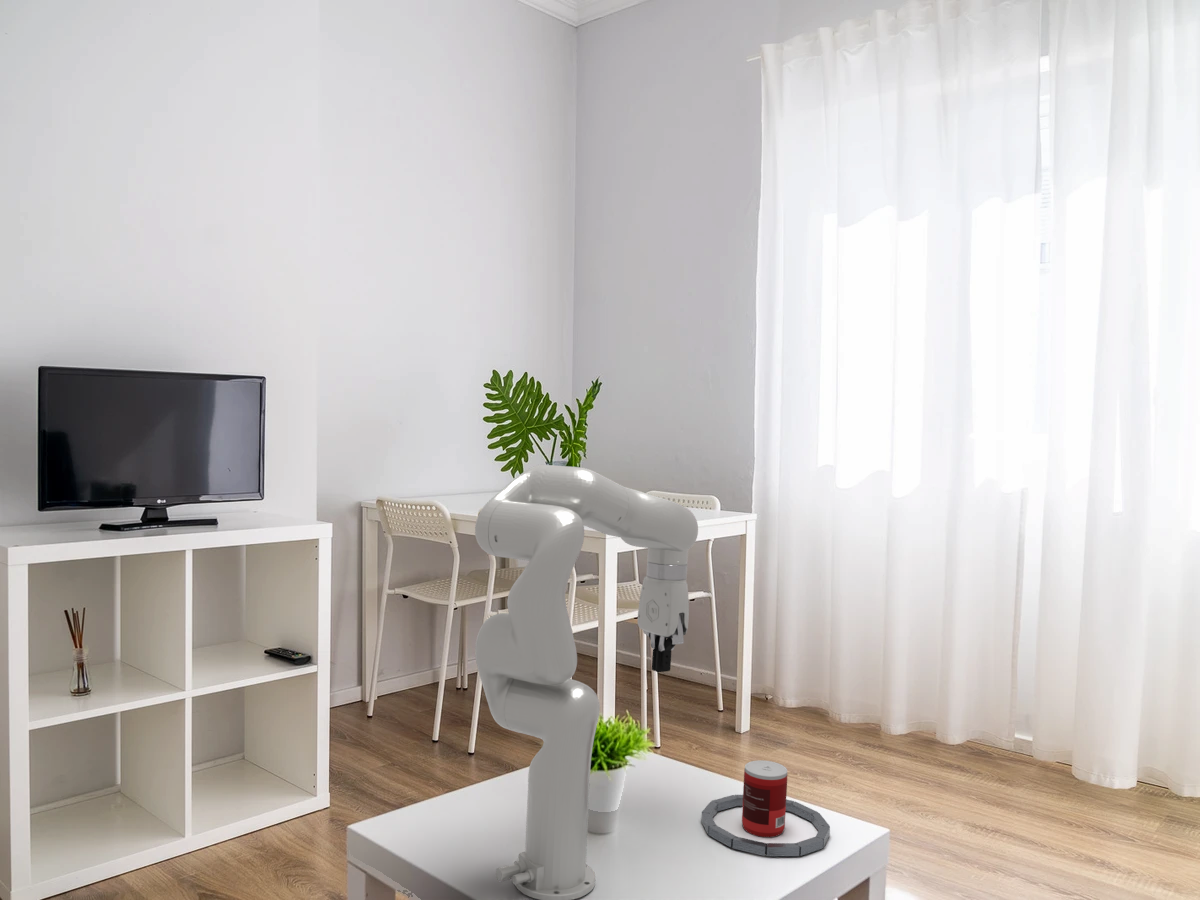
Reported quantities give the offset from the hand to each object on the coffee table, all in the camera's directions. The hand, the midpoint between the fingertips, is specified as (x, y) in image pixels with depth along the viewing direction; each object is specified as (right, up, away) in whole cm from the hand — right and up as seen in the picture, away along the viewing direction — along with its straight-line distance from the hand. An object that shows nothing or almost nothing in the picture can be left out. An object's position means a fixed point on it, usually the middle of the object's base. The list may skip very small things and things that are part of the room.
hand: (660, 670), depth 172 cm
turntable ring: (+18, -27, -6) cm, 33 cm away
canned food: (+18, -27, -6) cm, 33 cm away
